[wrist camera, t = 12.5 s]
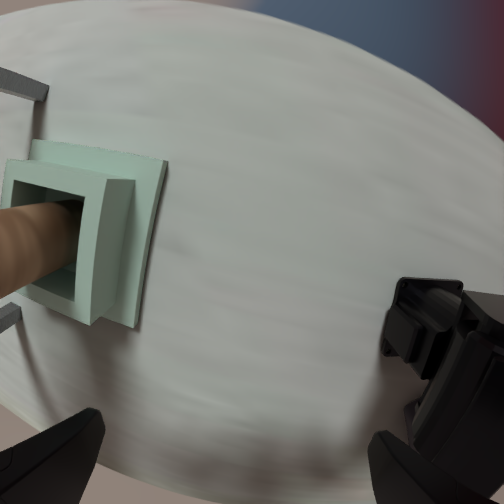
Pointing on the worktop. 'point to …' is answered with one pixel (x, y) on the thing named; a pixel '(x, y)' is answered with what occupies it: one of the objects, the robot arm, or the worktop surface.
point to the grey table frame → (36, 92)
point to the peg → (37, 241)
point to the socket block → (92, 225)
